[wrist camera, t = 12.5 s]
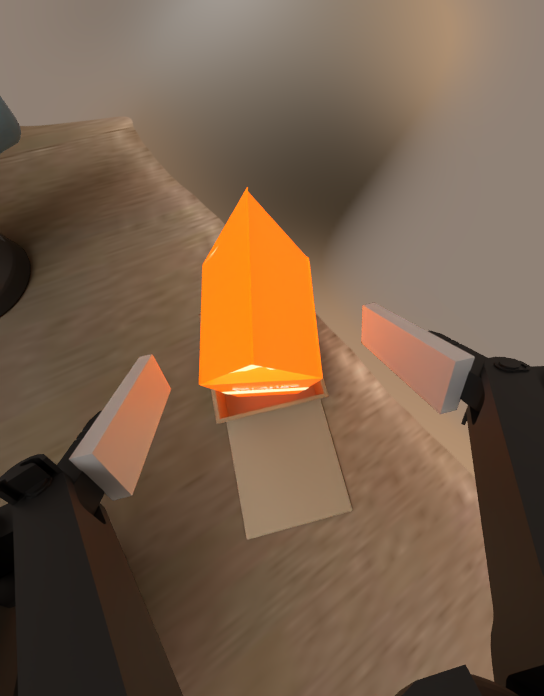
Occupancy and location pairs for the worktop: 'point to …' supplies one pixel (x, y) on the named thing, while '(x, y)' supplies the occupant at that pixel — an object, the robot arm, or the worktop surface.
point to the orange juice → (257, 310)
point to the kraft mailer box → (282, 459)
